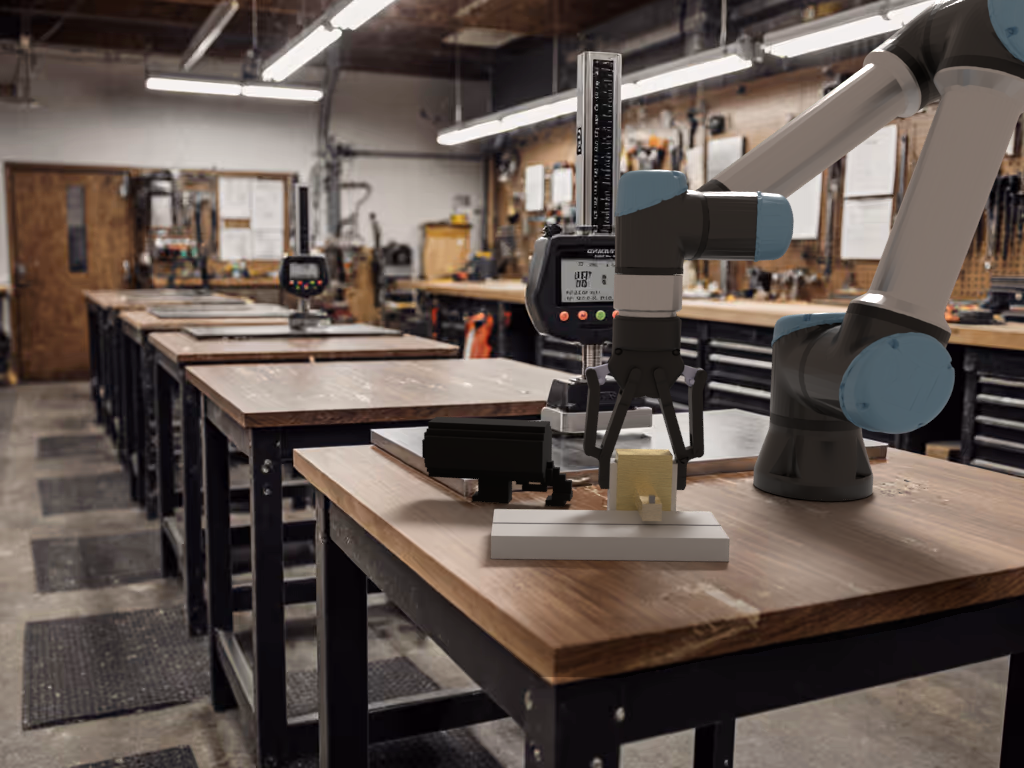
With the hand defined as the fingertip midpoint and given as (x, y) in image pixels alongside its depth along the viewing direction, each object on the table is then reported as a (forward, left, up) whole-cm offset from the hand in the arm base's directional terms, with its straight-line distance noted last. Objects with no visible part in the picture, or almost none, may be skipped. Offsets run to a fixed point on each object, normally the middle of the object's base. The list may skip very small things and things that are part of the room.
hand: (640, 516), depth 108 cm
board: (+5, +7, -1) cm, 9 cm away
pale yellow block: (0, +4, 0) cm, 4 cm away
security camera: (+17, -10, -1) cm, 19 cm away
